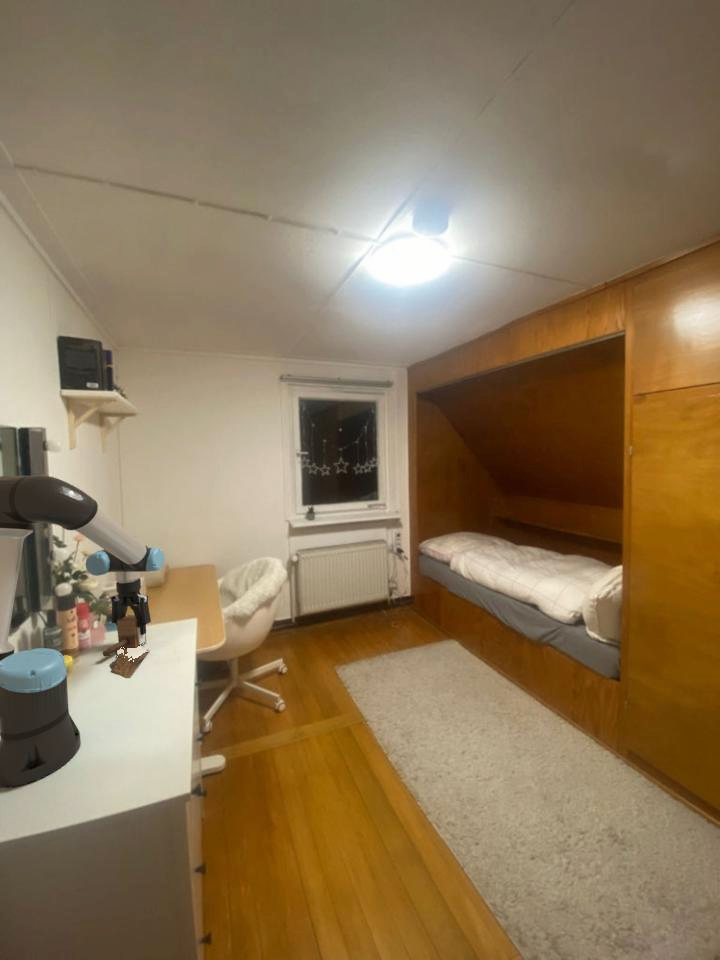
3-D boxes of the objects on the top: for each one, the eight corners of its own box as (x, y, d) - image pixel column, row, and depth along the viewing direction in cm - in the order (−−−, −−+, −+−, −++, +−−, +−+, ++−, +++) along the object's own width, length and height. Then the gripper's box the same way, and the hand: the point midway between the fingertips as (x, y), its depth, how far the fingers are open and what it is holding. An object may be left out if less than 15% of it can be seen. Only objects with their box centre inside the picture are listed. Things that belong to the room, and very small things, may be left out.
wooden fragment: (117, 647, 139) (117, 644, 139) (152, 640, 143) (152, 638, 143) (103, 685, 115) (102, 681, 115) (144, 675, 119) (144, 672, 119)
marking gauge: (114, 662, 127) (112, 633, 126) (96, 661, 128) (94, 631, 128) (146, 642, 141) (144, 615, 140) (130, 641, 142) (128, 615, 141)
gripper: (160, 577, 139) (163, 639, 140) (113, 575, 143) (117, 636, 144) (144, 584, 132) (148, 649, 133) (95, 582, 136) (100, 645, 137)
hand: (132, 642), depth 139 cm, fingers closed on marking gauge, 7 cm apart
